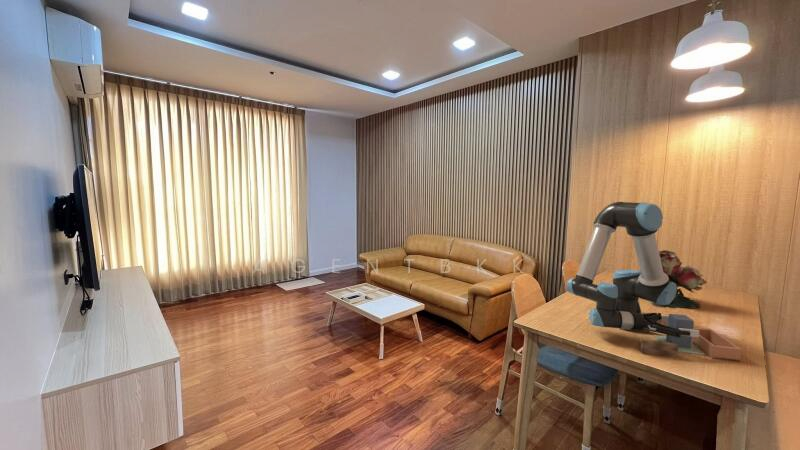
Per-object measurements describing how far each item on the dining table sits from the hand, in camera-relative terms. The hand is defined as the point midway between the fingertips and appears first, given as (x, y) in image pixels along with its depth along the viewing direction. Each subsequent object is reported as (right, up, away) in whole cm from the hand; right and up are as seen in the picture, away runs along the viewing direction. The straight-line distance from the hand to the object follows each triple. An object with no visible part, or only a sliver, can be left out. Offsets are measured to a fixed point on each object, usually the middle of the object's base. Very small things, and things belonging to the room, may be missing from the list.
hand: (688, 326), depth 136 cm
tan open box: (+8, -9, -1) cm, 12 cm away
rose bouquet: (+36, -2, +56) cm, 66 cm away
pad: (-3, -8, +2) cm, 9 cm away
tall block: (-3, -8, +2) cm, 9 cm away
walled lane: (-14, -8, +5) cm, 17 cm away
